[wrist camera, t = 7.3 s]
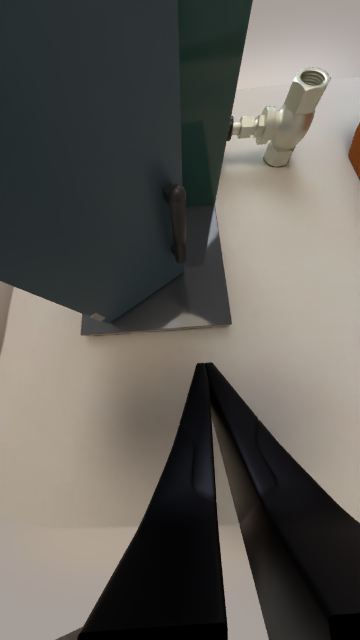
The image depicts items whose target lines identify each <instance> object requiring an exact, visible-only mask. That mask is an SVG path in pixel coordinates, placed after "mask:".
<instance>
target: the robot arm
mask: <svg viewBox="0 0 360 640" xmlns="http://www.w3.org/2000/svg"><path fill="white" fill-rule="evenodd" d="M211 416H212V419H211ZM212 420H213V424H214V427H215V431H216V435H217V439H218V443H219V447H220V451H221V455H222V459H223V462H224V466H225V470H226V474H227V478H228V482H229V486H230V490H231V494H232V497H233V501H234V505H235V509H236V513H237V517H238V521H239V523H240V529H241V533H242V536H243V540H244V544H245V548H246V552H247V556H248V560H249V564H250V568H251V571H252V575H253V579H254V583H255V587H256V590H257V595H258V598H259V602H260V606H261V610H262V614H263V618H264V622H265V626H266V629H267V634H268V637H269V640H360V523H359V522H358V521H356V520H355V519H354V518H353V517H352V516H350V515H349V514H348V513H347V512H346V511H345V510H344V509H342V508H341V507H340V506H339V505H338V504H337V503H336V502H335V501H334V500H333V499H332V498H331V497H330V496H329V495H328V494H327V493H326V492H325V491H324V490H323V489H322V488H321V487H320V485H319V484H318V483H317V482H316V481H315V480H314V479H313V478H312V477H311V476H310V475H309V474H308V473H307V472H306V471H305V470H304V469H303V468H302V467H301V466H300V465H299V464H298V463H297V462H296V461H295V460H294V459H293V458H292V456H291V455H290V454H289V453H288V452H287V451H286V450H285V449H284V448H283V447H282V446H281V445H280V444H279V443H278V441H277V440H276V439H275V438H274V437H273V436H272V434H271V433H270V432H269V431H268V430H267V429H266V427H265V426H264V425H263V424H262V422H261V421H260V420H258V418H257V416H256V415H255V414H254V413H253V412H252V410H251V409H250V408H249V407H248V405H247V404H246V403H245V402H244V401H243V399H242V398H241V397H240V396H239V395H238V393H237V392H236V391H235V390H234V388H233V387H232V386H231V385H230V384H229V382H228V381H227V380H226V379H225V377H224V376H223V375H222V374H221V373H220V371H219V370H218V369H217V368H216V366H215V365H214V364H213V363H212V362H209V363H205V364H204V363H197V365H196V368H195V372H194V375H193V379H192V382H191V386H190V389H189V393H188V396H187V400H186V403H185V407H184V410H183V414H182V417H181V420H180V425H179V427H178V430H177V434H176V437H175V440H174V443H173V446H172V449H171V452H170V454H169V457H168V460H167V462H166V465H165V467H164V470H163V472H162V475H161V477H160V479H159V482H158V484H157V487H156V489H155V492H154V494H153V496H152V499H151V501H150V504H149V506H148V508H147V510H146V513H145V515H144V517H143V519H142V521H141V523H140V525H139V528H138V530H137V532H136V534H135V535H134V537H133V539H132V541H131V543H130V545H129V546H128V548H127V550H126V551H125V553H124V555H123V557H122V559H121V560H120V562H119V564H118V566H117V568H116V569H115V571H114V573H113V575H112V576H111V578H110V580H109V582H108V584H107V585H106V587H105V589H104V591H103V593H102V594H101V596H100V598H99V599H98V601H97V603H96V605H95V607H94V609H93V610H92V612H91V614H90V615H89V617H88V619H87V621H86V623H85V625H84V626H83V627H81V628H79V629H77V630H75V631H73V632H71V633H69V634H67V635H65V636H62V637H60V638H58V639H56V640H228V633H227V632H228V628H227V617H226V607H225V596H224V585H223V575H222V565H221V553H220V543H219V531H218V518H217V503H216V486H215V469H214V453H213V436H212Z"/></svg>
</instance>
